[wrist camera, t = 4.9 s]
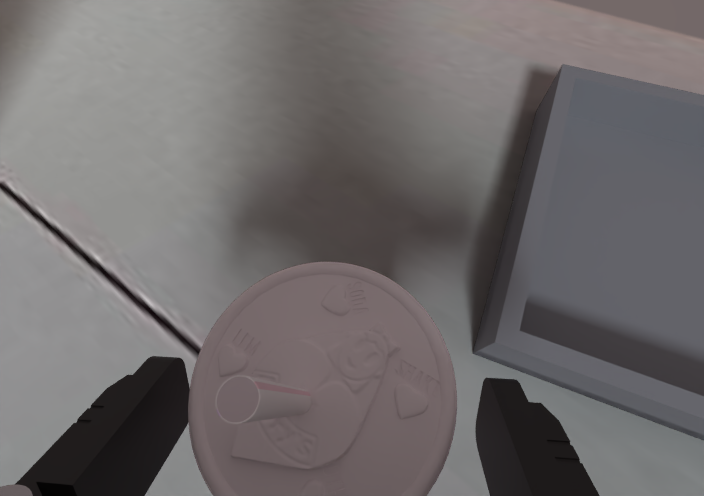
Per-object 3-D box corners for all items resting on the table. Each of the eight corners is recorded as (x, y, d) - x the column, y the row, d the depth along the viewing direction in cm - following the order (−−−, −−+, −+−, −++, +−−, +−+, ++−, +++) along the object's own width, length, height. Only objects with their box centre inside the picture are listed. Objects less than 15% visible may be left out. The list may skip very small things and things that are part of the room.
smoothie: (254, 379, 18) (-42, 317, 5) (360, 302, 19) (338, 94, 6) (329, 508, 16) (141, 974, 3) (443, 411, 17) (669, 434, 4)
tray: (472, 353, 18) (495, 342, 15) (536, 110, 23) (562, 64, 20) (864, 500, 15) (998, 527, 12) (831, 183, 20) (916, 142, 17)
